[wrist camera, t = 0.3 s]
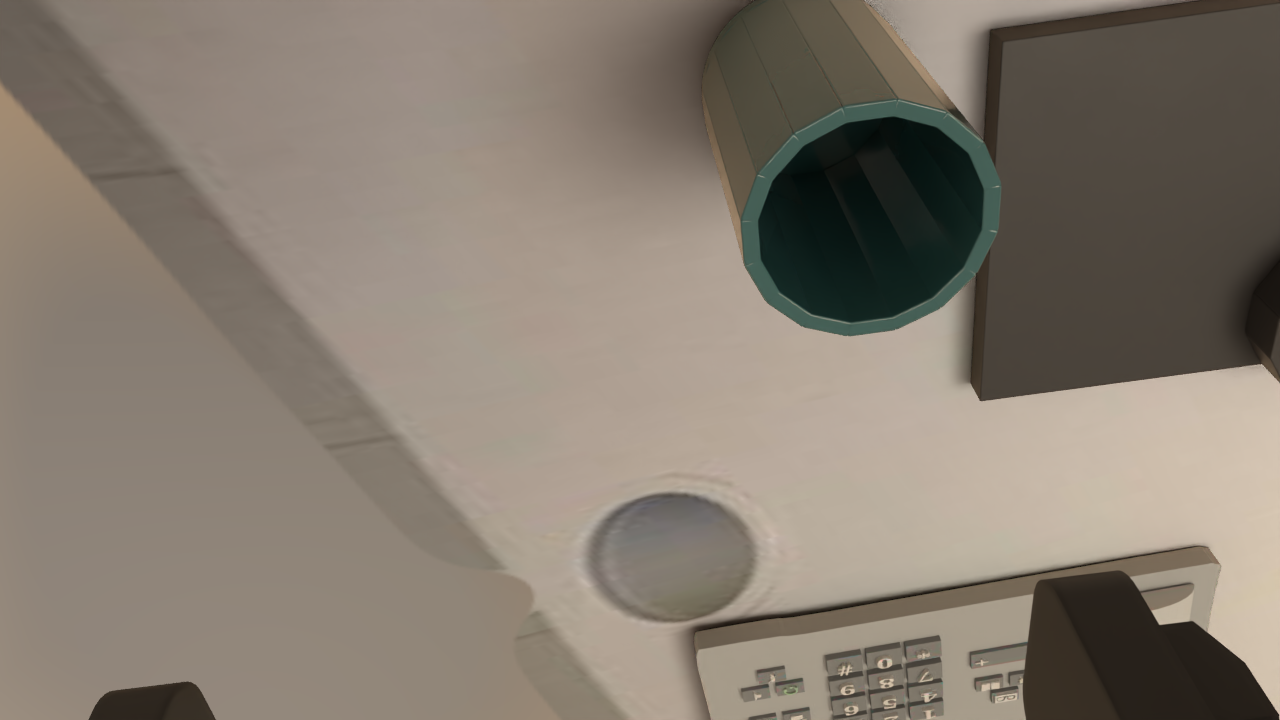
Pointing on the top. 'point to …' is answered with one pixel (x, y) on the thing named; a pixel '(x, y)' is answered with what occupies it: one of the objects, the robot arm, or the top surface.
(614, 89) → the top surface
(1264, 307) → the scale
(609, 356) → the top surface
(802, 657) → the office telephone
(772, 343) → the top surface
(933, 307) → the cup
